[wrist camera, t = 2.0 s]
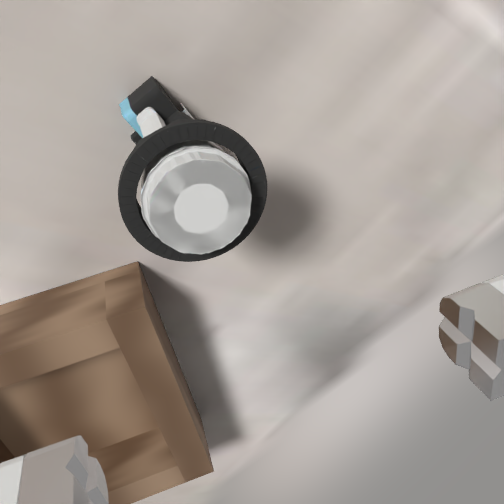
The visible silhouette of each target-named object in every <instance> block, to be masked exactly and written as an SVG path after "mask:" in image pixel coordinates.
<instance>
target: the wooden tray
mask: <svg viewBox="0 0 504 504" xmlns="http://www.w3.org/2000/svg"><path fill="white" fill-rule="evenodd" d="M75 436H82V438H83V439H84V441H85V442H86V443H87V445H88V456H90V457H93V458H96V459H97V460H98V462H99V464H100V465H101V468H102V470H103V473H104V475H105V479H106V484H107V489H108V501H109V504H131V503H134V502H136V501H139V500H141V499H144V498H147V497H149V496H152V495H154V494H157V493H159V492H162V491H165V490H167V489H170V488H172V487H175V486H177V485H180V484H183V483H185V482H188V481H190V480H193V479H195V478H198V477H200V476H203V475H206V474H208V473H211V472H213V471H214V470H213V466H212V462H211V458H210V454H209V449H208V445H207V441H206V437H205V433H204V429H203V425H202V421H201V418H200V415H199V413H198V410H197V408H196V405H195V403H194V400H193V398H192V395H191V393H190V390H189V388H188V385H187V383H186V380H185V378H184V375H183V373H182V370H181V368H180V365H179V363H178V360H177V358H176V355H175V353H174V350H173V348H172V345H171V343H170V340H169V338H168V335H167V333H166V330H165V328H164V325H163V323H162V320H161V318H160V315H159V313H158V310H157V308H156V305H155V303H154V300H153V298H152V295H151V293H150V290H149V288H148V285H147V283H146V280H145V278H144V275H143V273H142V270H141V268H140V265H139V263H138V262H134V263H131V264H128V265H125V266H122V267H119V268H116V269H113V270H109V271H106V272H103V273H100V274H97V275H94V276H91V277H88V278H84V279H81V280H78V281H75V282H72V283H69V284H66V285H63V286H59V287H56V288H53V289H50V290H47V291H44V292H41V293H38V294H34V295H31V296H28V297H25V298H22V299H19V300H16V301H13V302H9V303H6V304H3V305H0V463H2V462H5V461H8V460H10V459H13V458H16V457H19V456H22V455H25V454H27V453H29V452H32V451H35V450H38V449H41V448H43V447H46V446H49V445H52V444H55V443H58V442H61V441H63V440H66V439H69V438H72V437H75Z"/></svg>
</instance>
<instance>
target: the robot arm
mask: <svg viewBox="0 0 504 504" xmlns="http://www.w3.org/2000/svg"><path fill="white" fill-rule="evenodd" d="M440 312H441V313H442V314H443V315H444V316H445V318H444V319H443V321H442V322H441V324H440V325H439V338H440V341H441V344H442V347H443V349H444V350H445V352H446V353H447V355H448V357H449V358H450V359H451V360H452V361H453V362H454V363H455V364H456V365H458V366H461V367H464V368H467V369H469V379H470V380H471V381H472V382H473V383H474V384H475V385H476V386H477V387H478V388H479V389H480V390H481V391H482V392H483V393H484V394H485V395H486V396H487V398H488V399H490V401H492V400H494V399H497V398H499V397H502V396H504V275H500V276H498V277H495V278H492V279H490V280H487V281H485V282H482V283H479V284H476V285H474V286H471V287H469V288H466V289H464V290H461V291H458V292H456V293H453V294H451V295H448V296H446V297H443V299H442V300H441V302H440ZM0 504H109V501H108V489H107V484H106V479H105V475H104V473H103V470H102V468H101V465H100V464H99V462H98V460H97V459H96V458H93V457H90V456H88V445H87V443H86V442H85V441H84V439H83V438H82V436H75V437H72V438H69V439H66V440H63V441H61V442H58V443H55V444H52V445H49V446H46V447H43V448H41V449H38V450H35V451H32V452H29V453H27V454H25V455H22V456H19V457H16V458H13V459H10V460H8V461H5V462H2V463H0Z"/></svg>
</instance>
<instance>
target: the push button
mask: <svg viewBox="0 0 504 504" xmlns="http://www.w3.org/2000/svg"><path fill="white" fill-rule="evenodd" d="M180 105H181V106H182V108H183V109H184V110H183V111H182V112H181V111H179V110H178V109H177V108H176V107H175V105H174V104H173V103H172V101H171V100H170V98H169V97H168V95H167V94H166V92H165V91H164V90H163V89H162V87H161V86H160V85H159V84H158V82H157V81H156V80H155V79H154V78H153V77H152V76H151V77H150V78H149V79H148V80H147V81H146V82H144V83H143V84H142V85H141V86H140V87H139V88H138V89H136V90H135V91H134V92H133V93H132V94H131V95H129V96H128V97H127V98H126V99H125V100H124V101H123V102H121V103H120V104H119V106H120V107H121V112H122V115H123V117H124V118H125V120H126V121H127V122H128V123H129V124H130V125H131V126H132V127H133V128H134V130H135V132H134V133H133V134H132V135H131V139H132V141H133V142H134V143H135V144H136V146H135V148H134V150H133V151H132V152H131V154H130V155H129V157H128V159H127V160H126V162H125V164H124V167H123V169H122V172H121V175H120V180H119V186H118V200H119V207H120V212H121V215H122V218H123V221H124V223H125V225H126V227H127V229H128V230H129V232H130V233H131V235H132V236H133V237H134V238H135V239H136V240H137V242H139V243H140V244H141V245H142V246H143V247H145V248H146V249H147V250H149V251H151V252H152V253H154V254H156V255H159V256H161V257H164V258H167V259H170V260H175V261H184V262H192V261H201V260H207V259H210V258H214V257H216V256H219V255H221V254H223V253H226V252H227V251H229V250H231V249H233V248H234V247H235V246H237V245H238V244H239V243H241V242H242V241H243V240H244V239H245V238H246V237H247V236H248V235H249V234H250V232H251V231H252V230H253V229H254V227H255V226H256V224H257V223H258V221H259V219H260V217H261V215H262V212H263V210H264V206H265V202H266V197H267V179H266V174H265V170H264V167H263V164H262V162H261V160H260V158H259V156H258V154H257V153H256V151H255V150H254V149H253V147H252V146H251V145H250V144H249V143H248V142H247V141H246V140H245V139H244V138H243V137H242V136H241V135H239V134H238V133H237V132H235V131H234V130H232V129H230V128H228V127H226V126H224V125H221V124H218V123H215V122H210V121H206V120H199V119H194V118H193V117H192V115H191V114H190V113H189V112H188V110H187V109H186V108H185V107H184V106H183V104H182V103H180ZM214 142H215V143H218V144H220V145H223V146H224V147H226V148H228V149H230V150H231V151H232V152H234V153H235V154H236V156H237V158H238V160H239V163H238V161H237V160H236V159H235V158H233V157H231V156H230V155H228V154H226V153H225V152H224V150H223V149H222V148H221V147H219V146H218V145H217V144H215V143H214ZM141 175H142V181H141V187H142V191H141V207H140V205H139V203H138V201H137V199H136V193H137V186H138V182H139V180H140V177H141Z"/></svg>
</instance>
